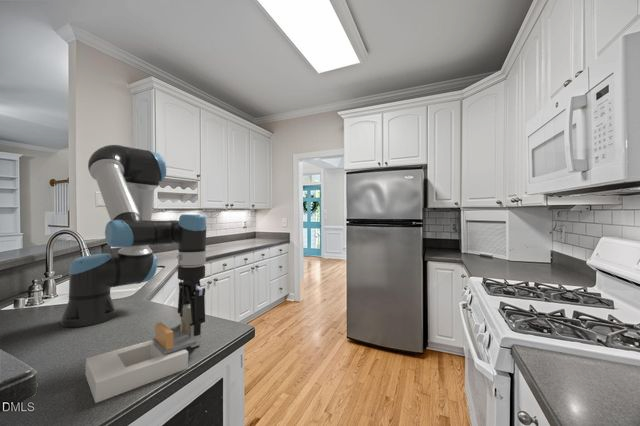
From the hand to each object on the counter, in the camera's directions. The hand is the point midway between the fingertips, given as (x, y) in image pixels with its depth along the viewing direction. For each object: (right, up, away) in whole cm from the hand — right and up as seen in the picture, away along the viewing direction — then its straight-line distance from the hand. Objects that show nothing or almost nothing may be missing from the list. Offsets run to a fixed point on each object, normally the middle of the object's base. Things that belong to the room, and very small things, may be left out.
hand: (190, 341), depth 82 cm
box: (0, -1, 0) cm, 1 cm away
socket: (-5, 0, -16) cm, 17 cm away
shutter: (0, +4, -10) cm, 11 cm away
